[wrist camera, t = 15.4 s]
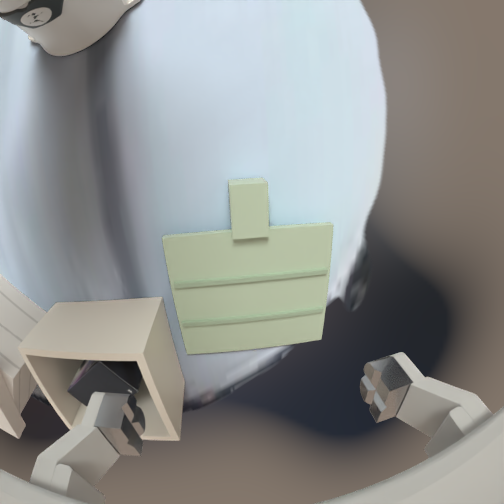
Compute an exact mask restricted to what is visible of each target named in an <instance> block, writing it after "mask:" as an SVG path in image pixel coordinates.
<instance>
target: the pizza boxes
mask: <svg viewBox="0 0 504 504" xmlns="http://www.w3.org/2000/svg"><path fill="white" fill-rule="evenodd" d="M46 313H47V312H46V311H45V310H43V309H42V308H41V307H39V306H38V305H37V304H35V303H34V302H33V301H32V300H30V299H29V298H28V297H27V296H25V295H24V294H23V293H22V292H20V291H19V290H18V289H17V288H16V287H14V286H13V285H12V284H11V283H10V282H9V281H8V280H6V279H5V278H4V277H3V276H2V275H1V274H0V428H1V429H3V430H4V431H6V432H8V433H9V434H11V435H13V436H15V437H17V438H20V436H21V433H22V431H23V429H24V427H25V423H24V421H23V419H22V417H21V415H20V414H21V412H22V410H23V408H24V406H25V405H26V403H27V401H28V399H29V397H30V396H31V394H32V392H33V391H34V389H35V387H36V386H37V382H36V380H35V379H34V377H33V375H32V374H31V372H30V370H29V368H28V367H27V365H26V363H25V361H24V359H23V357H22V355H21V354H20V352H19V350H18V348H17V347H18V346H19V345H20V343H21V342H22V341H23V340H24V338H25V337H26V336H27V335H28V334H29V333H30V331H31V330H32V329H33V328H34V327H35V326H36V324H37V323H38V322H39V321H40V320H41V319H42V318H43V316H44V315H45V314H46Z"/></svg>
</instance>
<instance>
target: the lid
mask: <svg viewBox="0 0 504 504" xmlns="http://www.w3.org/2000/svg"><path fill="white" fill-rule="evenodd" d="M228 188H229V204H230V218H231V229H228V230H216V231H205V232H194V233H183V234H172V235H163V237H162V242H163V248H164V253H165V259H166V264H167V269H168V274H169V279H170V284H171V289H172V294H173V299H174V303H175V308H176V312H177V316H178V321H179V325H180V329H181V333H182V337H183V341H184V345H185V349H186V352H187V354H202V353H216V352H229V351H239V350H249V349H258V348H267V347H275V346H282V345H289V344H296V343H303V342H309V341H315V340H321V338H322V331H323V324H324V315H325V309H326V300H327V292H328V283H329V273H330V262H331V251H332V238H333V224H332V223H331V222H326V223H309V224H294V225H280V226H269V206H268V182H267V181H266V180H264V179H263V178H248V179H233V180H228Z"/></svg>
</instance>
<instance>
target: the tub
mask: <svg viewBox="0 0 504 504" xmlns="http://www.w3.org/2000/svg"><path fill="white" fill-rule="evenodd" d="M17 348H18V350H19V352H20V354H21V355H22V357H23V359H24V361H25V363H26V365H27V367H28V368H29V370H30V372H31V374H32V375H33V377H34V379H35V380H36V382H37V384H38V385H39V387H40V388H41V390H42V392H43V393H44V395H45V396H46V398H47V399H48V401H49V402H50V404H51V405H52V406H53V408H54V409H55V411H56V412H57V414H58V415H59V416H60V418H61V419H62V420H63V421H64V423H65V424H66V426H67V427H68V428H69V429H70V430H71V429H73V428H74V427H75V426H76V425H77V424H79V425H81V423H82V420H83V417H84V414H85V412H86V409H87V406H85V405H84V404H82V403H81V402H80V401H78V400H77V399H76V398H75V397H73V396H72V395H71V394H70V393H69V392H67V390H68V388H69V386H70V384H71V382H72V380H73V379H74V377H75V375H76V373H77V371H78V369H79V367H80V365H81V364H82V362H83V360H101V361H137V363H138V366H139V368H140V371H141V373H142V376H143V378H142V381H141V384H140V387H139V391H138V393H136V394H134V396H135V398H136V400H137V403H136V405H137V406H138V407H140V408H141V409H142V411H143V413H144V416H145V425H146V426H145V432H144V433H143V434H142V435H141V436H140V437H141V439H145V440H167V441H180V434H181V421H182V420H181V419H182V408H183V397H184V386H185V380H184V377H183V374H182V370H181V367H180V364H179V360H178V357H177V353H176V350H175V346H174V342H173V338H172V335H171V331H170V327H169V323H168V319H167V314H166V310H165V306H164V302H163V297H150V298H136V299H120V300H103V301H83V302H57V303H55V304H54V305H53V306H52V308H51V309H50V310H49V311H48V312H47V313H46V314H45V315H44V316H43V318H42V319H41V320H40V321H39V322H38V323H37V324H36V326H35V327H34V328H33V329H32V330H31V331H30V333H29V334H28V335H27V336H26V337H25V338H24V340H23V341H22V342H21V343H20V345H19V346H18V347H17Z"/></svg>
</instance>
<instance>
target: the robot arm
mask: <svg viewBox="0 0 504 504" xmlns="http://www.w3.org/2000/svg"><path fill="white" fill-rule="evenodd" d="M139 1H141V0H0V17H1V18H2V19H4V20H7V21H8V22H10V23H12V24H14V25H17V26H18V27H19V28H20V29H22V30H23V31H24V32H25V33H27V34H28V39H29V40H31V41H32V42H34V43H39V44H40V45H41V46H42V47H43V49H44V50H45V51H46V52H47V53H49V54H51V55H54V56H66V55H70V54H73V53H76V52H79V51H81V50H83V49H85V48H87V47H88V46H90V45H92V44H93V43H94V42H96V41H97V40H99V39H100V38H101V37H102V36H104V35H105V34H106V33H107V32H108V31H109V30H110V29H111V28H112V27H113V26H114V25H115V24H116V22H117V21H118V20H119V19H120V17H121V16H122V15H123V14H124V13H125V12H126V11H127V10H128V9H129V8H131V7H132V6H134V5H135V4H137V3H138V2H139ZM364 372H365V376H364V377H363V378H362V379H361V383H360V391H361V395H362V397H363V399H364V401H365V402H366V403H368V404H371V406H370V412H371V414H372V415H373V417H374V419H375V421H376V422H380V421H383V420H386V419H389V418H391V417H394V416H396V417H397V418H399V419H401V420H402V421H404V422H406V423H407V424H409V425H411V426H413V427H414V428H416V429H418V430H420V431H421V432H423V433H425V434H426V435H428V436H430V437H432V439H431V440H430V441H429V443H428V444H427V445H426V447H425V452H426V453H427V455H428V457H429V459H427V460H425V461H423V462H421V463H420V464H418V465H416V466H414V467H412V468H410V469H408V470H406V471H404V472H402V473H399V474H397V475H395V476H393V477H391V478H388V479H386V480H384V481H381V482H379V483H377V484H374V485H371V486H369V487H366V488H363V489H361V490H358V491H355V492H352V493H350V494H346V495H343V496H340V497H337V498H333V499H330V500H326V501H323V502H319V503H315V504H504V406H503V407H502V408H501V409H500V410H498V411H497V412H496V413H495V414H494V415H493V414H492V413H491V412H490V410H489V409H488V408H487V407H486V406H485V404H484V403H483V402H482V401H481V400H480V399H479V397H478V396H477V395H476V394H474V393H471V392H468V391H465V390H462V389H459V388H456V387H454V386H451V385H448V384H446V383H443V382H440V381H438V380H435V379H433V378H430V377H426V378H425V377H424V376H423V375H422V374H421V372H420V371H419V370H418V369H417V368H416V367H415V365H414V364H413V363H412V362H411V360H410V359H409V358H408V357H407V356H406V355H405V354H404V353H402V352H400V353H397V354H394V355H391V356H387V357H384V358H381V359H378V360H375V361H372V362H368V363H367V364H366V365H365V367H364ZM136 403H137V400H136V398H135V396H134V395H132V394H119V393H104V392H94V393H93V394H92V396H91V398H90V401H89V404H88V406H87V409H86V412H85V414H84V417H83V420H82V423H81V425H79V424H77V425H76V426H75V427H74V428H73V429H71V430H70V431H69V432H68V433H66V434H65V435H64V436H62V437H61V438H60V439H59V440H57V441H56V442H55V443H54V444H52V445H51V446H50V447H49V448H47V449H46V450H45V451H43V452H42V453H41V454H40V455H38V457H37V460H36V463H35V466H34V469H33V473H32V475H31V479H30V482H26V481H24V480H22V479H20V478H18V477H16V476H14V475H11V474H9V473H7V472H5V471H3V470H2V469H0V504H105V496H104V494H103V493H101V492H100V491H99V490H97V489H96V488H95V487H94V486H95V485H96V484H97V483H98V481H99V480H100V479H101V478H102V477H103V476H104V474H105V473H106V472H107V471H108V469H109V468H110V467H111V466H112V465H113V464H114V462H115V461H116V460H117V459H118V457H119V456H120V455H131V456H141V453H142V446H143V441H142V439H141V437H140V436H141V435H142V434H143V433H144V432H145V426H146V425H145V416H144V413H143V411H142V409H141V408H140V407H138V406H137V405H136Z"/></svg>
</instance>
